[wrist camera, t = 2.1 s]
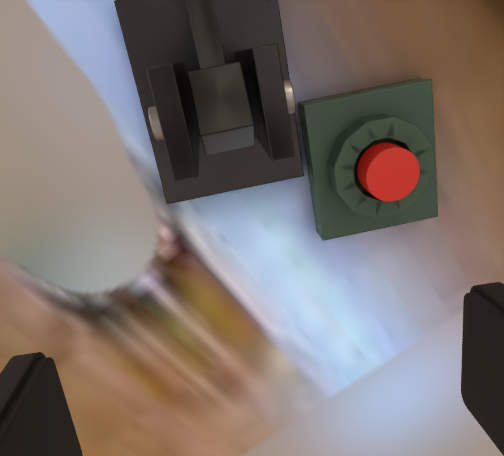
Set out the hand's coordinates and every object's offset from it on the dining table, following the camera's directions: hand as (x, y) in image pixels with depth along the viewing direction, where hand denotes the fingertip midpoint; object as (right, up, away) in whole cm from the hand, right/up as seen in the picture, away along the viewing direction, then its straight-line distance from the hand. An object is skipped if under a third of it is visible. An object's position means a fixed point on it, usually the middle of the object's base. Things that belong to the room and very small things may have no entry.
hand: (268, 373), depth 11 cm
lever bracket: (-3, +12, +19) cm, 22 cm away
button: (+8, +7, +18) cm, 21 cm away
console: (+7, +8, +21) cm, 24 cm away
